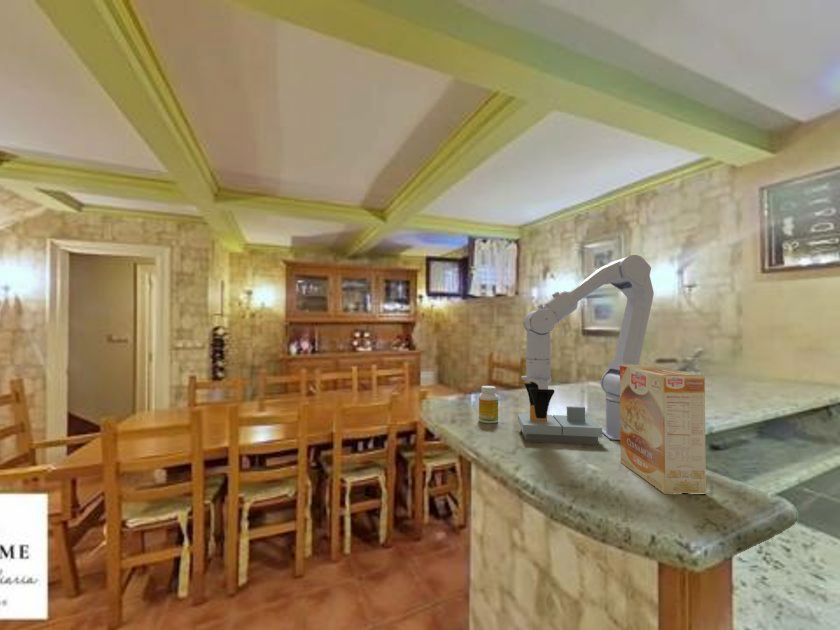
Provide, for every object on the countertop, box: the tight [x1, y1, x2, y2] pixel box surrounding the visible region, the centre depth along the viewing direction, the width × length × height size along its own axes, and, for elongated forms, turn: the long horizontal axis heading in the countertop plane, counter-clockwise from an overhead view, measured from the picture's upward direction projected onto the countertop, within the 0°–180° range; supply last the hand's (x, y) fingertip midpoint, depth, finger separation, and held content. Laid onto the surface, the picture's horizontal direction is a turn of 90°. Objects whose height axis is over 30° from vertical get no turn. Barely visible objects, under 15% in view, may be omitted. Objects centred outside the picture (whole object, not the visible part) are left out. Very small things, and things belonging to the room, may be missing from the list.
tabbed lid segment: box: [517, 404, 562, 435], centre depth 95 cm, size 9×11×5 cm
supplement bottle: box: [478, 385, 499, 424], centre depth 110 cm, size 5×5×10 cm
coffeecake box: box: [619, 364, 707, 495], centre depth 70 cm, size 15×7×20 cm, turn 178°
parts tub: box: [520, 429, 599, 446], centre depth 95 cm, size 16×10×3 cm, turn 82°
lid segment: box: [552, 405, 603, 438], centre depth 94 cm, size 9×11×5 cm
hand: (538, 414), depth 95 cm, fingers open, 7 cm apart
